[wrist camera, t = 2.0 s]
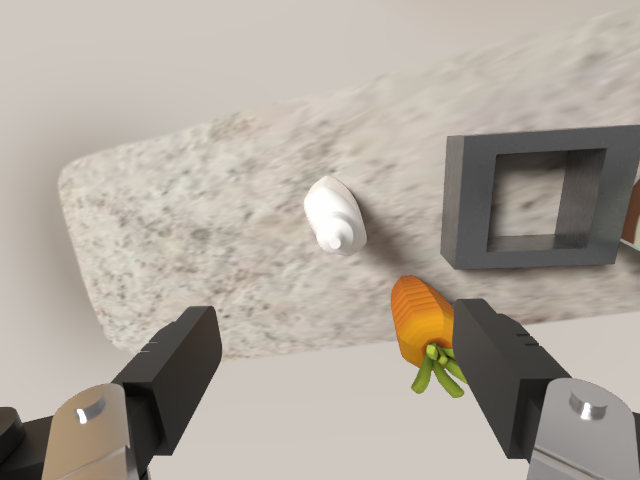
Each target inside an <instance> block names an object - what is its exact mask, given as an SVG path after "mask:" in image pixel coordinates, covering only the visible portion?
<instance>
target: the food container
mask: <svg viewBox="0 0 640 480" xmlns="http://www.w3.org/2000/svg"><path fill="white" fill-rule="evenodd" d="M620 241H621V242H623V243H625V244H627V245H629V246H631V247H632V248H634V249H636V250H638V251H640V173H639V174H638V176H637V177H636V178H635V181H634V185H633V189H632V193H631V197H630V201H629V206H628V210H627V214H626V218H625V222H624V226H623V231H622V235H621V239H620Z"/></svg>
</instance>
